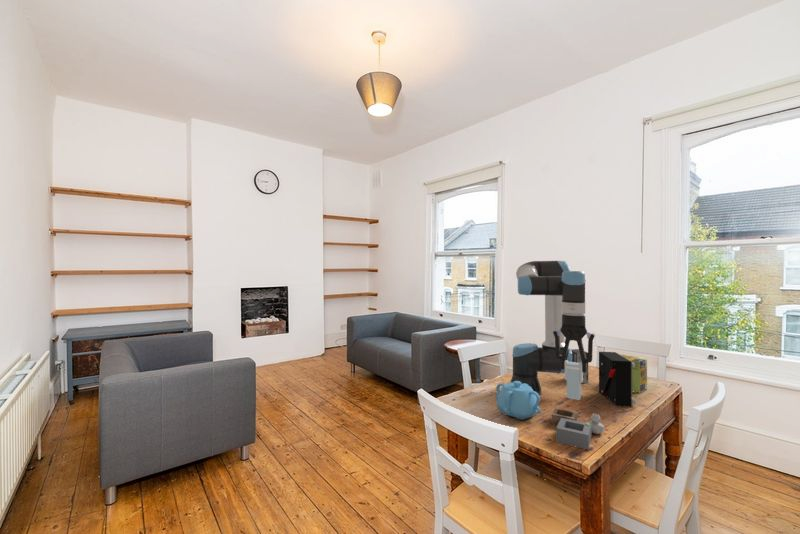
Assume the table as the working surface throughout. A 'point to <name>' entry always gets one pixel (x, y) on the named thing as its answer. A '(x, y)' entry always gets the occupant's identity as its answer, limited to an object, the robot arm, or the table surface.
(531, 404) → the decorative pot
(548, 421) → the table surface
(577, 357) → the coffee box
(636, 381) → the protein box
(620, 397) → the electrical component
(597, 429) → the rubber duck
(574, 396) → the plug
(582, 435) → the port
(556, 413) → the holster
